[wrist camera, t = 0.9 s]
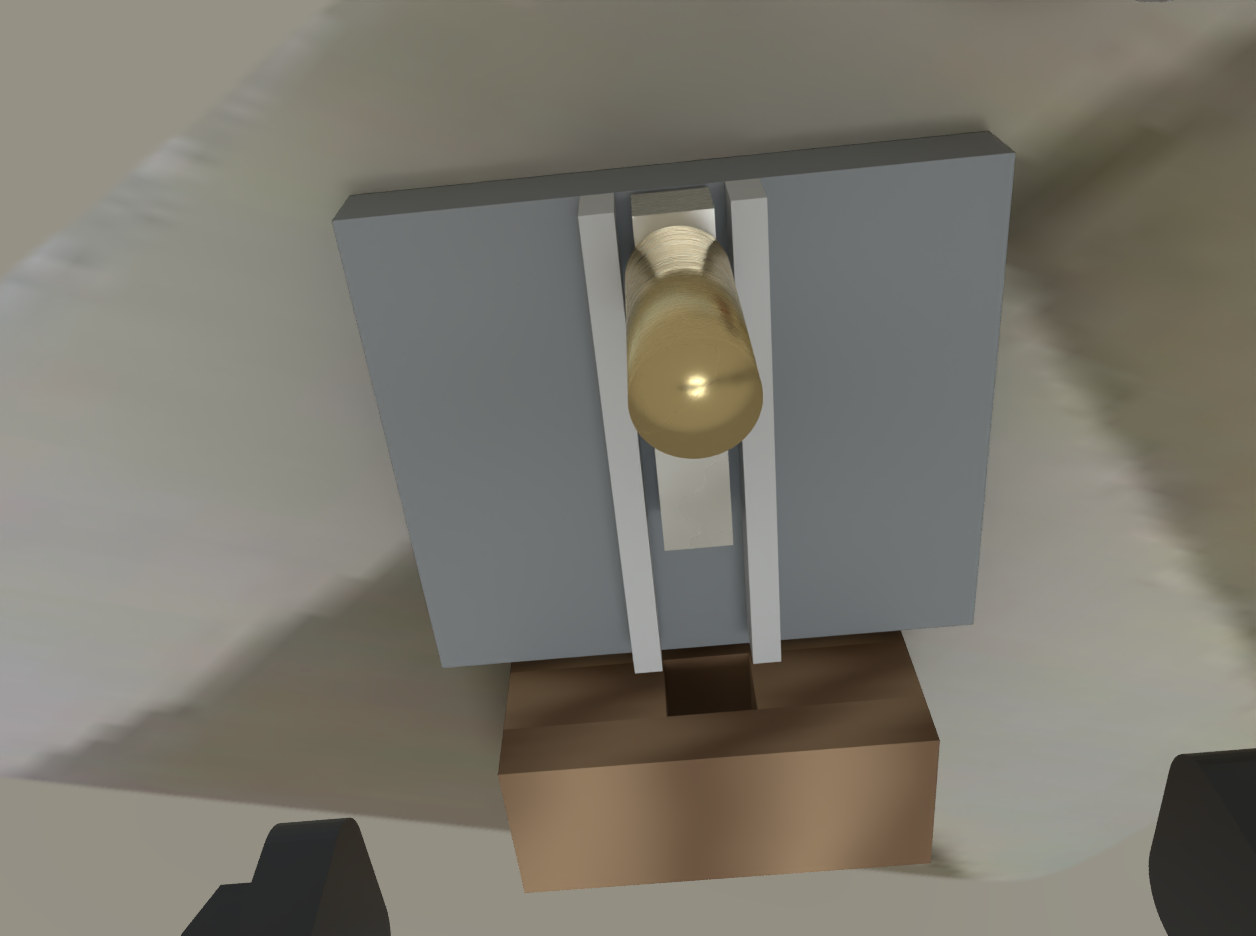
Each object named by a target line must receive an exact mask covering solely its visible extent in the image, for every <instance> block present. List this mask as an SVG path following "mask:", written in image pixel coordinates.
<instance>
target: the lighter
mask: <svg viewBox="0 0 1256 936" xmlns="http://www.w3.org/2000/svg"><path fill="white" fill-rule="evenodd" d="M1136 1H1139V2H1167V1H1172V0H1136Z"/></svg>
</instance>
